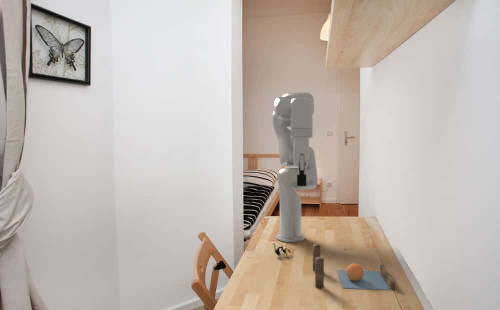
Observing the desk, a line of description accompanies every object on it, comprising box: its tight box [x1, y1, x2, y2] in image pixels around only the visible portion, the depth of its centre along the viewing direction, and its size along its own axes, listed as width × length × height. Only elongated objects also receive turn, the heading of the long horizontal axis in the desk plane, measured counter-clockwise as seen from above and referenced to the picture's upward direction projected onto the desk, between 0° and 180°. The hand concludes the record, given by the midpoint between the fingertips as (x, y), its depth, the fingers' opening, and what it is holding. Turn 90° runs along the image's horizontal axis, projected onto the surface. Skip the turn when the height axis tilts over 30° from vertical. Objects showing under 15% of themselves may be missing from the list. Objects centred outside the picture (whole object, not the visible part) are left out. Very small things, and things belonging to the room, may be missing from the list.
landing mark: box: [336, 269, 391, 291], centre depth 118 cm, size 14×14×1 cm
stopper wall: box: [379, 264, 396, 291], centre depth 117 cm, size 14×1×2 cm, turn 174°
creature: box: [272, 242, 294, 259], centre depth 140 cm, size 8×5×8 cm
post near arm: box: [312, 243, 321, 273], centre depth 126 cm, size 3×3×9 cm
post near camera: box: [314, 256, 325, 289], centre depth 113 cm, size 3×3×9 cm
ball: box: [345, 263, 365, 281], centre depth 117 cm, size 6×6×6 cm
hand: (301, 185), depth 128 cm, fingers closed
